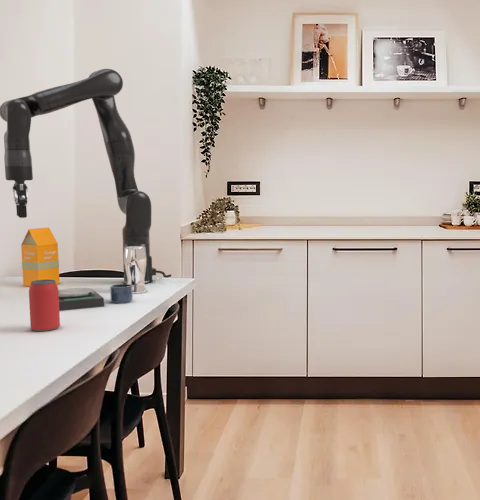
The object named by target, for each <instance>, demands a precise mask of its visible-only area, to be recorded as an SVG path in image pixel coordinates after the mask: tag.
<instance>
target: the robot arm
mask: <svg viewBox="0 0 480 500" xmlns="http://www.w3.org/2000/svg"><path fill="white" fill-rule="evenodd" d="M123 87H124V81H123V77H122V76H121V74H120V73H119V72H117V71H116V70H115V69H112V68H101V69H99V70H95V71H93V72H91V73H90V74H89V75H88V77H86V78H84V79H82V80H77V81H75V82H70V83H66V84H62V85H58V86H53V87H50V88H46V89H44V90H43V89H42V90H39V91H36V92H34V93H32V94H29V95H26V96H21V97H17V98H14V99H10V100H6V101H4V102H3V103H1V105H0V118H1V119H2V120H3V121H4V122H6V131H5V132H4V134H3V145H4V146H3V147H4V157H3V159H4V174H5V175H4V176H5V180H6V181H14V184H13V186H12V193H13V200H14V203H15V205H16V207H15V210H16V216H17V217H18V218H20V219H25V218H28V211H27V205H28V197H29V196H28V192H29V191H28V190H29V188H28V186H27V184H26V183H25V181H33V179H34V175H33V161H32V159H33V158H32V153H31V143H30V142H31V141H30V132H31V125H32V118H34V117H37V116H44V115H48V114H50V113H54V112H57V111H60V110H62V109H66V108H69V107H70V106H73V105H75V104H79V103H81V102H84V101H88V100H91V101H92V102H93V106H94V109H95V111H96V114H97V118H98V122H99V126H100V130H101V133H102V138H103V145H104V147H105V151H106V154H107V158H108V161H109V165H110V169H111V173H112V176H113V179H114V184H115V185H114V187H115V191H116V200H117V204H118V205H117V206H118V208H119V210H120V211H121V213H123V214H124V215H125V224H124V226H123V227H122V228H121V229H122V230H121V235H122V263H123V284H128V280H127V274H126V270H125V264H124V251H125V247H129V246H144V247H145V249H146V271H145V278H144V282H145V284H149V283H153V276H157V274H161V275H162V276H163V278H171V277H172V274H166V273H165V272H164V271H163V270H157V268H155V267H153V257H152V256H151V244H150V241H151V240H150V239H151V238H150V230H151V228H152V201H151V198H150V196H149V195H148V194H147V192H144V191H142V190H139V188H138V185H137V182H136V177H135V162H136V153H135V152H136V151H135V146H134V143H133V139H132V134H131V132H130V130H129V128H128V127H127V124H126V123H125V121H124V120H123V118H122V116H121V115H120V113H119V111H118V108H117V103H116V99H115V96H117V95H118V94H120V92H121V91H122V90H123Z"/></svg>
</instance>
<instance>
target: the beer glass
mask: <svg viewBox="0 0 480 500" xmlns="http://www.w3.org/2000/svg"><path fill="white" fill-rule="evenodd" d="M124 264H125V270H126V274H127V280H128V284H131V285H132V293H133V294H142V293H146V292H147V288H146V283H145V282H144V278H145V271H146V249H145V247H144V246H129V247H125V251H124Z"/></svg>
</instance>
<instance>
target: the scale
mask: <svg viewBox="0 0 480 500" xmlns="http://www.w3.org/2000/svg"><path fill="white" fill-rule="evenodd" d="M100 307H105V297H103V296H102V295H100V294H99V293H98V292H97V291H95V293H94V294H91V295H87V296H80V297H59V312H61V311H69V310H70V311H71V310H79V309H92V308H100Z"/></svg>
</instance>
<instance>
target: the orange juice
mask: <svg viewBox="0 0 480 500" xmlns="http://www.w3.org/2000/svg"><path fill="white" fill-rule="evenodd" d="M20 247H21V249H20V250H21V269H22V287H30V285H31V282H32V281H35V280H46V279H50V280H55V281H56V282H55V283H56V285H59V284H60V283H61V281H60V259H59V242H58V241H57V239H56V238H55V235H54V234H53V231H52V230H51V228H50V227H38V228H28V230H27V232H26V234H25V236H24V239H23V241H22V243H21V246H20Z"/></svg>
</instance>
